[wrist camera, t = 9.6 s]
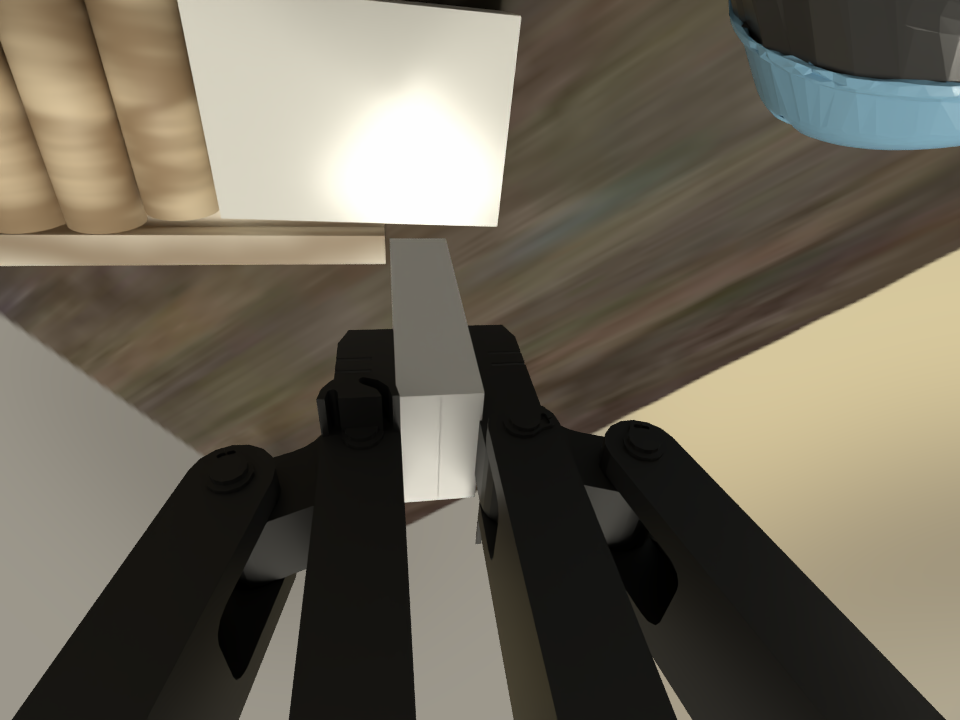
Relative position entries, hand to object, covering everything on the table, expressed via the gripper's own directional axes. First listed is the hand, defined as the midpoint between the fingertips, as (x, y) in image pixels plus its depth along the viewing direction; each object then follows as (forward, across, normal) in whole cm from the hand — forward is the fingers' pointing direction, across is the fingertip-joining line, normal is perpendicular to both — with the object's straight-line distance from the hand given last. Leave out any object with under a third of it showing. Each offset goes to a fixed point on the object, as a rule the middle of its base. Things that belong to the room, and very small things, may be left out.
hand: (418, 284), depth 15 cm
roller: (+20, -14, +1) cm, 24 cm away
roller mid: (+17, -17, 0) cm, 24 cm away
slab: (+21, -2, 0) cm, 22 cm away
